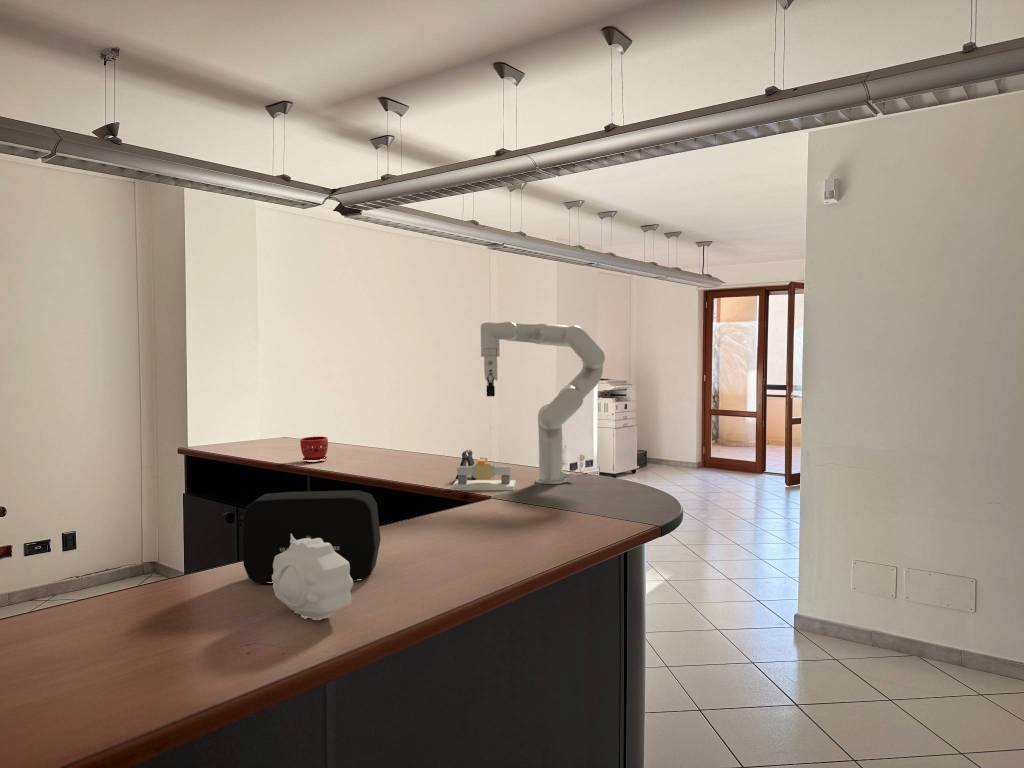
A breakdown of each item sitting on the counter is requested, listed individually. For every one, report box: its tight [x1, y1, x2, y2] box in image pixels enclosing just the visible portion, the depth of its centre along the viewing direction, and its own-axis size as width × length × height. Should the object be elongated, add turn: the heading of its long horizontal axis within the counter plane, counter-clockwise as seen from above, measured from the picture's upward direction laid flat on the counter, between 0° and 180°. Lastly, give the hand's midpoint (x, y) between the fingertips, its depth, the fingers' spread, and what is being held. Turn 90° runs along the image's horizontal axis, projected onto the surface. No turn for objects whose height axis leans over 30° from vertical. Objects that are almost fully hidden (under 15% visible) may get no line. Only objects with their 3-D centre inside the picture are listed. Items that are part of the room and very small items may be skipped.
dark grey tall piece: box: [455, 449, 476, 480], centre depth 296 cm, size 9×6×12 cm, turn 79°
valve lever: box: [476, 456, 488, 466], centre depth 273 cm, size 12×3×2 cm, turn 176°
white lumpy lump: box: [272, 534, 354, 619], centre depth 142 cm, size 11×18×16 cm, turn 52°
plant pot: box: [299, 435, 329, 461], centre depth 351 cm, size 13×13×12 cm
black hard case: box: [242, 489, 382, 583], centre depth 168 cm, size 30×12×20 cm, turn 92°
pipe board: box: [451, 475, 517, 491], centre depth 278 cm, size 24×13×5 cm, turn 86°
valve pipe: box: [456, 461, 512, 480], centre depth 278 cm, size 21×6×7 cm, turn 86°
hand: (490, 395), depth 285 cm, fingers open, 9 cm apart
